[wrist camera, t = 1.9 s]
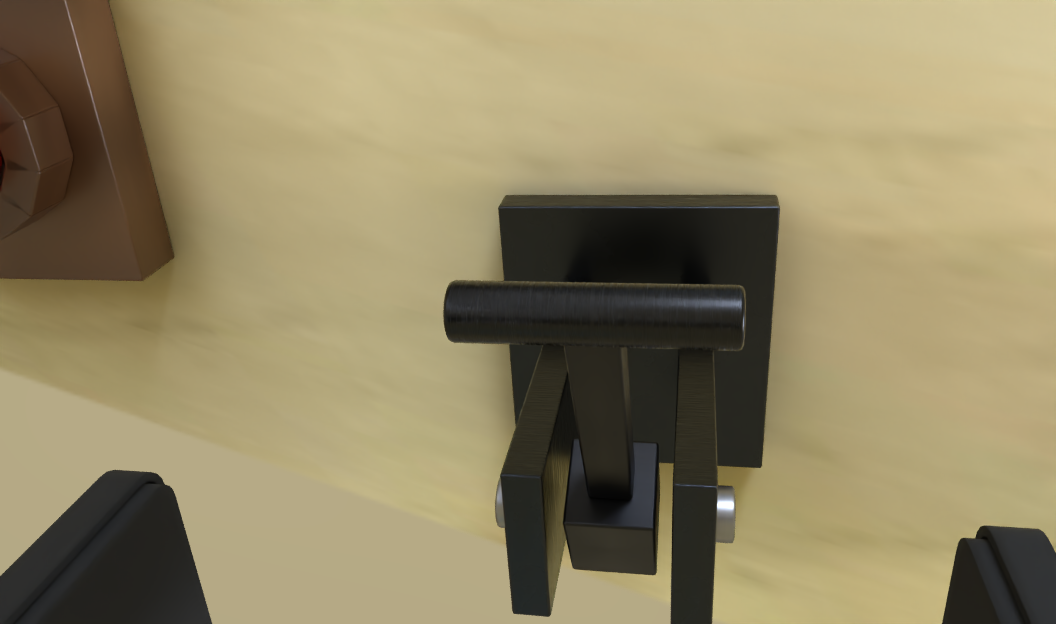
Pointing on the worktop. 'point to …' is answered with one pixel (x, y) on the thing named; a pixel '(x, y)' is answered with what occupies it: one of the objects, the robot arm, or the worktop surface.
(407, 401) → the worktop surface
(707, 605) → the bracket
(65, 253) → the button box
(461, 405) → the worktop surface
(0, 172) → the button
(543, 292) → the lever
